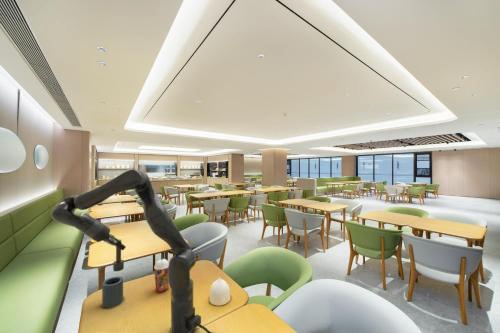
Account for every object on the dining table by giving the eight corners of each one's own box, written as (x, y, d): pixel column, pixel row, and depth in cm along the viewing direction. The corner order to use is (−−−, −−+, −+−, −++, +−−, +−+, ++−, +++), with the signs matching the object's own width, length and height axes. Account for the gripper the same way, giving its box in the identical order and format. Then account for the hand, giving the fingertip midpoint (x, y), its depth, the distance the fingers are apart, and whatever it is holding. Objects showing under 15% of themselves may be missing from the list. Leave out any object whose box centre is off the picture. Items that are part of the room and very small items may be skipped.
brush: (125, 268, 110) (125, 239, 110) (115, 272, 106) (115, 242, 106) (121, 266, 113) (121, 238, 113) (111, 269, 109) (111, 240, 109)
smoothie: (164, 294, 116) (164, 258, 116) (150, 292, 118) (150, 256, 118) (172, 286, 124) (172, 252, 124) (160, 284, 126) (160, 251, 126)
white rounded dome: (233, 301, 110) (233, 278, 110) (213, 308, 105) (213, 283, 105) (225, 290, 120) (225, 269, 120) (206, 296, 115) (206, 273, 115)
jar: (126, 300, 111) (126, 279, 111) (107, 310, 103) (107, 287, 103) (118, 295, 116) (117, 274, 116) (99, 303, 108) (99, 282, 109)
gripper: (108, 225, 100) (135, 244, 110) (96, 221, 107) (121, 238, 117) (95, 240, 95) (124, 257, 105) (83, 234, 103) (111, 251, 113)
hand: (122, 247), depth 111 cm, fingers closed on brush
